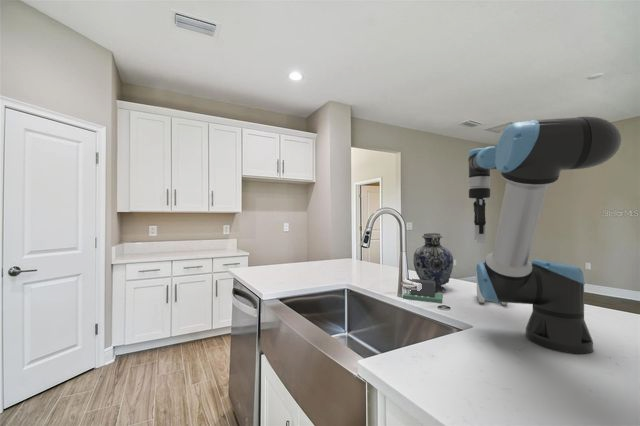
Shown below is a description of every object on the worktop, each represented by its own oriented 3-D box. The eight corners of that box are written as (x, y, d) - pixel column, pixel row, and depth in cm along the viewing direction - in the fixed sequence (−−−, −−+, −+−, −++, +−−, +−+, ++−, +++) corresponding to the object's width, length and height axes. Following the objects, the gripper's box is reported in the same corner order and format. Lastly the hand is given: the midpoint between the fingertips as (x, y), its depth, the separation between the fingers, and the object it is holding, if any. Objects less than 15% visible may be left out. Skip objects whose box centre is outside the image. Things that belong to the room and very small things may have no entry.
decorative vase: (458, 295, 131) (456, 234, 132) (415, 293, 136) (414, 234, 137) (449, 285, 152) (448, 232, 153) (412, 283, 157) (411, 232, 157)
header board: (441, 303, 121) (441, 291, 121) (402, 298, 127) (402, 287, 127) (442, 297, 130) (442, 286, 130) (406, 293, 136) (406, 282, 137)
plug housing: (435, 294, 129) (435, 280, 129) (434, 297, 124) (434, 283, 124) (412, 291, 133) (412, 278, 134) (410, 294, 128) (410, 281, 128)
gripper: (467, 191, 127) (467, 238, 127) (470, 185, 105) (470, 243, 104) (486, 190, 124) (487, 239, 124) (494, 184, 102) (494, 244, 101)
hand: (479, 241), depth 114 cm, fingers open, 13 cm apart
